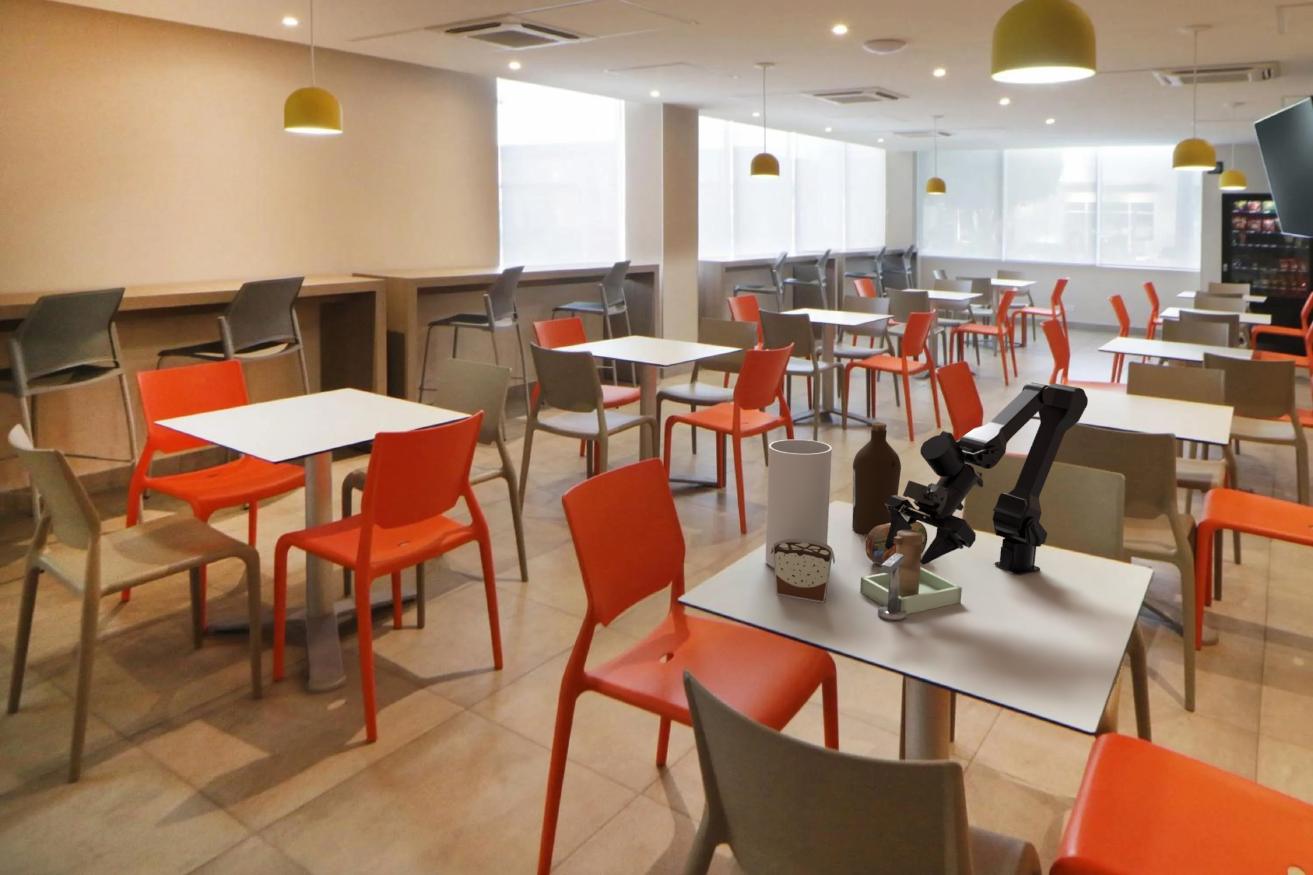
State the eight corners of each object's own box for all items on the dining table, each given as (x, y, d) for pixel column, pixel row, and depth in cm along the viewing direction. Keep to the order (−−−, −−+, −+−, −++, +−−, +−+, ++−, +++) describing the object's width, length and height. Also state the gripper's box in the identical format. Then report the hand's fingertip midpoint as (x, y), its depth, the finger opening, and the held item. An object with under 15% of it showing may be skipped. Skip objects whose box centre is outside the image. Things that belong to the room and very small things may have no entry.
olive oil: (901, 526, 220) (908, 421, 214) (890, 540, 211) (897, 431, 205) (856, 520, 225) (862, 417, 219) (843, 533, 215) (849, 425, 210)
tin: (871, 569, 194) (874, 530, 192) (861, 564, 197) (863, 525, 195) (927, 557, 201) (930, 519, 199) (916, 552, 203) (919, 515, 201)
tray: (918, 580, 188) (919, 566, 187) (960, 602, 177) (961, 587, 176) (860, 591, 182) (861, 577, 181) (900, 615, 171) (901, 599, 171)
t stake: (883, 607, 175) (887, 550, 172) (910, 614, 172) (914, 555, 169) (868, 622, 168) (872, 562, 166) (895, 628, 166) (899, 568, 163)
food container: (840, 592, 182) (842, 543, 179) (832, 604, 176) (834, 553, 174) (778, 582, 187) (780, 533, 184) (768, 593, 181) (770, 543, 179)
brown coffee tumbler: (906, 587, 182) (910, 528, 179) (923, 595, 178) (928, 535, 175) (883, 593, 179) (887, 533, 176) (900, 601, 175) (904, 540, 172)
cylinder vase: (836, 571, 193) (842, 451, 187) (780, 577, 189) (784, 456, 183) (810, 550, 204) (814, 437, 198) (756, 556, 201) (759, 441, 195)
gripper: (894, 454, 183) (848, 517, 180) (969, 477, 167) (919, 546, 165) (922, 487, 189) (877, 549, 186) (997, 513, 173) (949, 581, 170)
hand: (903, 555), depth 176 cm, fingers open, 9 cm apart
